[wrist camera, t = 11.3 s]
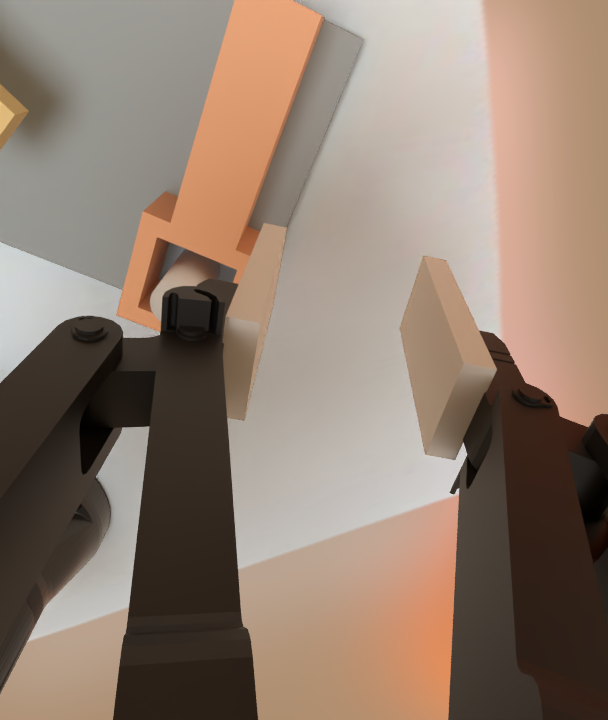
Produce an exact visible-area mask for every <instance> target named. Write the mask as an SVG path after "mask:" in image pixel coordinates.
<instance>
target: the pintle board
mask: <svg viewBox="0 0 608 720" xmlns="http://www.w3.org/2000/svg"><path fill="white" fill-rule="evenodd" d="M233 4H234V0H0V242H2V243H4V244H7V245H9V246H12V247H14V248H17V249H20V250H22V251H25V252H27V253H30V254H32V255H35V256H37V257H40V258H43V259H45V260H48V261H50V262H53V263H55V264H58V265H61V266H63V267H66V268H68V269H71V270H73V271H76V272H79V273H81V274H84V275H86V276H89V277H91V278H94V279H97V280H99V281H102V282H104V283H107V284H109V285H112V286H115V287H117V288H120V289H122V290H123V287H124V283H125V279H126V275H127V271H128V267H129V264H130V260H131V256H132V252H133V248H134V244H135V240H136V236H137V232H138V228H139V224H140V220H141V216H142V213H143V211H144V210H145V209H146V208H147V207H148V206H149V205H150V204H152V203H153V202H154V201H155V200H156V199H157V198H158V197H159V196H161V195H162V194H163V193H164V192H165V191H166V192H168V193H171V194H173V195H175V196H178V195H179V192H180V188H181V185H182V181H183V178H184V174H185V171H186V167H187V164H188V160H189V157H190V153H191V150H192V147H193V143H194V140H195V136H196V133H197V129H198V126H199V122H200V119H201V115H202V112H203V108H204V105H205V101H206V98H207V94H208V91H209V87H210V84H211V80H212V77H213V73H214V70H215V66H216V63H217V60H218V56H219V53H220V49H221V46H222V42H223V39H224V35H225V32H226V28H227V25H228V21H229V18H230V14H231V11H232V7H233ZM362 43H363V39H361V38H359V37H357V36H355V35H353V34H351V33H349V32H347V31H345V30H343V29H342V28H340V27H338V26H336V25H334V24H332V23H330V22H328V21H326V20H323V23H322V26H321V28H320V31H319V34H318V37H317V39H316V42H315V45H314V47H313V50H312V53H311V55H310V58H309V61H308V64H307V66H306V69H305V72H304V74H303V77H302V80H301V82H300V85H299V88H298V91H297V93H296V96H295V99H294V101H293V104H292V107H291V109H290V112H289V115H288V118H287V120H286V123H285V126H284V128H283V131H282V134H281V136H280V139H279V142H278V145H277V147H276V150H275V153H274V155H273V158H272V161H271V163H270V166H269V169H268V171H267V174H266V177H265V180H264V182H263V185H262V188H261V190H260V193H259V196H258V198H257V201H256V204H255V207H254V209H253V212H252V215H251V217H250V220H249V223H248V225H247V226H248V227H250V228H253V229H255V230H257V231H261V229H262V226H263V224H264V223H267V224H271V225H276V226H281V227H287V225H288V222H289V220H290V217H291V215H292V213H293V210H294V208H295V205H296V203H297V200H298V198H299V196H300V193H301V191H302V188H303V186H304V183H305V181H306V179H307V176H308V174H309V171H310V169H311V166H312V164H313V162H314V159H315V157H316V154H317V152H318V149H319V147H320V145H321V142H322V140H323V137H324V135H325V132H326V130H327V128H328V125H329V123H330V120H331V118H332V115H333V113H334V111H335V108H336V106H337V103H338V101H339V98H340V96H341V94H342V91H343V89H344V86H345V84H346V81H347V79H348V77H349V74H350V72H351V69H352V67H353V64H354V62H355V60H356V57H357V55H358V52H359V50H360V47H361V45H362ZM236 273H237V270H236V269H234V268H231V267H229V266H226V265H224V264H222V263H219V262H217V261H214V260H212V259H209V258H207V257H205V256H202V255H200V254H197V253H195V252H192V251H190V250H188V249H185V248H183V247H180V246H178V245H175V244H173V243H171V242H169V246H168V249H167V252H166V256H165V259H164V263H163V266H162V270H161V273H160V276H159V279H160V280H161V281H160V283H159V284H158V285H157V287H156V288H155V289H154V291H153V292H152V294H151V297H150V307H151V310H152V312H153V314H154V315H155V317H156V318H157V319H158V320H159V321H160V322H161V313H162V296H163V295H164V293H165V292H166V291H168V290H169V289H171V288H175V287H180V286H197V284H199V283H201V282H203V281H205V280H207V279H209V278H212V279H217V280H222V281H227V282H232V283H233V281H234V278H235V275H236Z"/></svg>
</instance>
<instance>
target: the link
mask: <svg viewBox="0 0 608 720" xmlns="http://www.w3.org/2000/svg"><path fill="white" fill-rule="evenodd" d="M323 20H324V17H323V16H322V15H320V14H318V13H316V12H314V11H312V10H310V9H308V8H307V7H305V6H303V5H301V4H299V3H297V2H295V1H293V0H234V4H233V7H232V11H231V14H230V18H229V21H228V25H227V28H226V32H225V35H224V39H223V42H222V46H221V49H220V53H219V56H218V60H217V63H216V66H215V70H214V73H213V77H212V80H211V84H210V87H209V91H208V94H207V98H206V101H205V105H204V108H203V112H202V115H201V119H200V122H199V126H198V129H197V133H196V136H195V140H194V143H193V147H192V150H191V153H190V157H189V160H188V164H187V167H186V171H185V174H184V178H183V181H182V185H181V188H180V192H179V195H178V196H175V195H173V194H171V193H168V192H166V191H165V192H164V193H163V194H162V195H161V196H159V197H158V198H157V199H156V200H155V201H154V202H153V203H152V204H150V205H149V206H148V207H147V208H146V209H145V210H144V211H143V213H142V216H141V220H140V224H139V228H138V232H137V236H136V240H135V244H134V248H133V252H132V256H131V260H130V264H129V267H128V271H127V275H126V279H125V283H124V287H123V291H122V295H121V299H120V303H119V307H118V311H117V316H120V317H122V318H125V319H128V320H130V321H133V322H136V323H138V324H141V325H143V326H146V327H149V328H151V329H154V330H157V331H159V332H160V331H161V322H160V321H159V320H158V319H157V318H156V317H155V315H154V314H153V312H152V310H151V307H150V297H151V294H152V292H153V291H154V289H155V288H156V287H157V285H158V284H159V283H160V281H161V280H160V279H159V276H160V273H161V270H162V266H163V263H164V259H165V256H166V252H167V249H168V246H169V242H171V243H173V244H175V245H178V246H180V247H183V248H185V249H188V250H190V251H192V252H195V253H197V254H200V255H202V256H205V257H207V258H209V259H212V260H214V261H217V262H219V263H222V264H224V265H226V266H229V267H231V268H234V269H236V270H237V273H236V275H235V278H234V281H233V283H237V284H239V282H240V280H241V277H242V275H243V273H244V270H245V268H246V265H247V263H248V260H249V258H250V255H251V253H252V251H253V248H254V246H255V243H256V241H257V238H258V236H259V233H260V231H257V230H255V229H253V228H250V227H248V226H247V225H248V223H249V220H250V217H251V215H252V212H253V209H254V207H255V204H256V201H257V198H258V196H259V193H260V190H261V188H262V185H263V182H264V180H265V177H266V174H267V171H268V169H269V166H270V163H271V161H272V158H273V155H274V153H275V150H276V147H277V145H278V142H279V139H280V136H281V134H282V131H283V128H284V126H285V123H286V120H287V118H288V115H289V112H290V109H291V107H292V104H293V101H294V99H295V96H296V93H297V91H298V88H299V85H300V82H301V80H302V77H303V74H304V72H305V69H306V66H307V64H308V61H309V58H310V55H311V53H312V50H313V47H314V45H315V42H316V39H317V37H318V34H319V31H320V28H321V26H322V23H323Z"/></svg>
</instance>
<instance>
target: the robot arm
mask: <svg viewBox="0 0 608 720" xmlns="http://www.w3.org/2000/svg"><path fill="white" fill-rule="evenodd" d="M286 231H287V228H286V227H281V226H276V225H271V224H267V223H264V224H263V226H262V229H261V231H260V233H259V236H258V238H257V241H256V243H255V246H254V248H253V251H252V253H251V255H250V258H249V260H248V263H247V265H246V268H245V270H244V273H243V275H242V277H241V280H240V282H239V284H237V283H232V282H227V281H222V280H217V279H212V278H209V279H207V280H205V281H203V282H201V283H199V284H197V286H180V287H175V288H171V289H169V290H168V291H166V292H165V293H164V295H163V296H162V313H161V331H160V335H159V336H155V337H150V338H123V331H122V329H121V327H120V325H118V324H117V323H115V322H114V321H112V320H109V319H105V318H102V317H94V316H86V317H85V316H81V317H76V318H73V319H69V320H66V321H64V322H63V323H61V324H60V325H58V326H57V327H56V328H55V329H54V330H53V331H52V332H51V333H50V334H49V335H48V336H47V337H46V338H45V339H44V340H43V341H42V342H41V343H40V344H39V345H38V346H37V347H36V348H35V349H34V350H33V351H32V352H31V353H30V354H29V355H28V356H27V357H26V358H25V359H24V360H23V361H22V362H21V363H20V364H19V365H18V366H17V367H16V368H15V369H14V370H13V371H12V372H11V373H10V374H9V375H8V376H7V377H6V378H5V379H4V380H3V381H2V382H1V383H0V693H1V691H2V689H3V687H4V685H5V684H6V682H7V680H8V678H9V676H10V674H11V672H12V670H13V668H14V666H15V664H16V662H17V660H18V658H19V656H20V654H21V652H22V650H23V648H24V646H25V644H26V643H27V641H28V639H29V637H30V635H31V633H32V630H33V628H34V627H35V625H36V623H37V621H38V619H39V617H40V615H41V613H42V611H43V609H44V608H45V606H46V605H47V604H48V602H49V601H50V600H51V599H52V598H53V597H54V596H55V595H56V594H57V593H58V592H59V591H60V590H61V589H62V588H63V587H64V586H65V585H66V584H67V583H68V582H69V581H70V580H71V579H72V578H73V577H74V576H75V575H76V574H77V573H78V572H79V571H80V570H81V569H82V568H83V567H84V566H85V565H86V564H87V562H88V561H89V560H90V559H91V558H92V557H93V556H94V554H95V553H96V551H97V550H98V548H99V546H100V544H101V542H102V540H103V538H104V535H105V533H106V531H107V529H108V526H109V522H110V508H109V504H108V500H107V498H106V495H105V493H104V491H103V490H102V488H101V486H100V485H99V483H98V482H97V481H96V480H95V477H96V476H97V474H98V472H99V470H100V469H101V467H102V465H103V463H104V462H105V460H106V458H107V456H108V455H109V453H110V451H111V449H112V447H113V446H114V444H115V442H116V440H117V439H118V437H119V435H120V433H121V430H122V427H145V426H150V428H149V437H148V446H147V455H146V464H145V472H144V481H143V490H142V499H141V508H140V516H139V525H138V534H137V543H136V552H135V560H134V569H133V578H132V587H131V596H130V604H129V613H128V622H127V629H126V634H125V635H124V638H123V644H122V650H121V658H120V666H119V674H118V683H117V691H116V699H115V708H114V716H113V720H258V715H257V703H256V691H255V679H254V667H253V656H252V648H251V640H250V636H249V632H248V629H247V628H245V627H243V624H242V618H241V608H240V594H239V579H238V565H237V551H236V537H235V523H234V508H233V494H232V480H231V466H230V452H229V438H228V424H227V417H228V418H233V419H238V420H245V416H246V412H247V408H248V404H249V400H250V396H251V392H252V388H253V384H254V380H255V376H256V372H257V368H258V364H259V360H260V356H261V352H262V348H263V344H264V340H265V336H266V332H267V328H268V324H269V320H270V316H271V312H272V308H273V304H274V299H275V293H276V287H277V282H278V276H279V270H280V265H281V259H282V253H283V248H284V242H285V236H286ZM400 332H401V337H402V342H403V347H404V352H405V357H406V362H407V366H408V371H409V376H410V381H411V386H412V391H413V396H414V401H415V406H416V411H417V416H418V421H419V426H420V431H421V436H422V441H423V446H424V451H425V454H426V455H431V456H436V457H442V458H447V459H452V460H455V459H456V457H457V455H458V452H459V450H460V448H461V446H462V444H463V442H464V445H465V448H466V451H467V457H466V459H465V461H464V463H463V465H462V467H461V469H460V472H459V474H458V476H457V478H456V480H455V482H454V484H453V486H452V488H451V491H450V493H451V494H455V492H456V490H457V489H458V488H460V489H459V510H458V530H457V531H458V533H457V551H456V573H455V594H454V614H453V635H452V636H453V637H452V656H451V657H452V658H451V678H450V699H449V719H448V720H608V414H600V415H597V416H595V418H594V420H593V421H592V423H591V425H590V426H589V427H586V426H583V425H580V424H578V423H575V422H572V421H570V420H567V419H565V418H562V417H560V416H559V412H558V407H557V405H556V403H555V402H554V400H553V399H552V398H551V397H550V396H549V395H548V394H546V393H545V392H543V391H542V390H540V389H538V388H537V387H534V386H531V385H529V384H527V383H525V381H524V379H523V377H522V375H521V373H520V372H519V370H518V368H517V366H516V365H515V364H514V363H515V362H514V360H513V358H512V357H511V356H510V353H509V351H508V349H507V347H506V345H505V344H504V343H503V342H502V341H501V340H500V339H499V338H498V337H497V336H495V335H494V334H493V333H489V332H484V331H479V330H478V328H477V326H476V323H475V321H474V319H473V317H472V315H471V313H470V311H469V308H468V306H467V304H466V302H465V300H464V298H463V296H462V294H461V291H460V289H459V287H458V285H457V283H456V281H455V279H454V276H453V274H452V272H451V270H450V268H449V266H448V264H447V261H446V260H441V259H436V258H432V257H427V256H423V259H422V262H421V265H420V268H419V271H418V274H417V277H416V280H415V283H414V286H413V289H412V292H411V295H410V298H409V301H408V304H407V308H406V311H405V314H404V317H403V320H402V323H401V326H400Z"/></svg>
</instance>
